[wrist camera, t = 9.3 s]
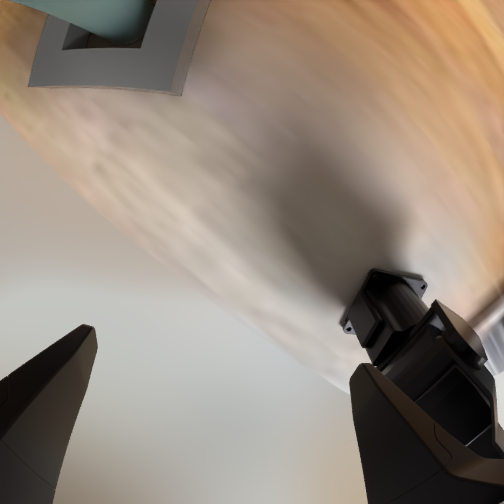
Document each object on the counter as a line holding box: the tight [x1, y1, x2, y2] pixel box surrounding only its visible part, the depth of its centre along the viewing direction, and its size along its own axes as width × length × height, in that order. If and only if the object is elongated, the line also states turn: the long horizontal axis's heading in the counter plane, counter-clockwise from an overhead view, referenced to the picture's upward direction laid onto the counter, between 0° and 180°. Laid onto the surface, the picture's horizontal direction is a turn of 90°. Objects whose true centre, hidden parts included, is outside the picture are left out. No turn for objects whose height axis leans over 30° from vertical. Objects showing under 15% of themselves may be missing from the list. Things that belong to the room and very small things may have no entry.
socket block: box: [28, 0, 210, 96], centre depth 12 cm, size 11×11×3 cm
